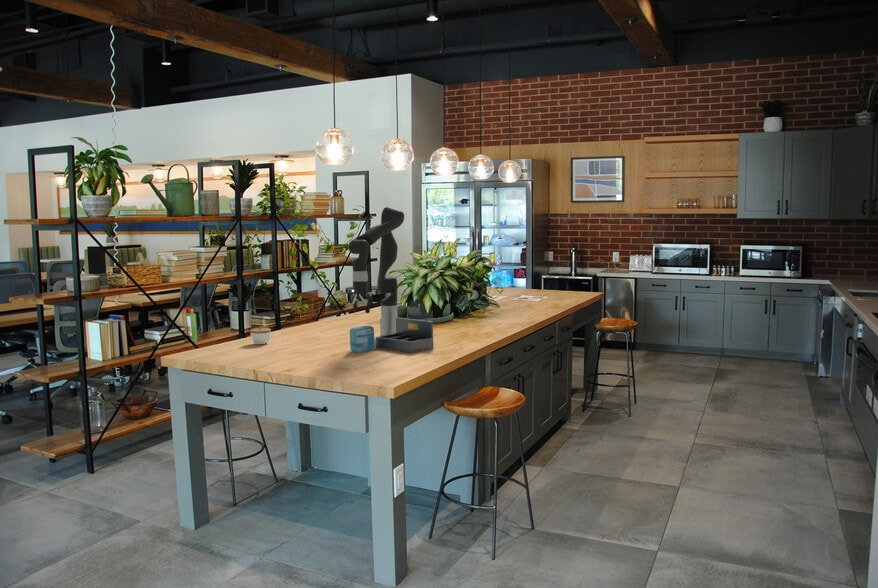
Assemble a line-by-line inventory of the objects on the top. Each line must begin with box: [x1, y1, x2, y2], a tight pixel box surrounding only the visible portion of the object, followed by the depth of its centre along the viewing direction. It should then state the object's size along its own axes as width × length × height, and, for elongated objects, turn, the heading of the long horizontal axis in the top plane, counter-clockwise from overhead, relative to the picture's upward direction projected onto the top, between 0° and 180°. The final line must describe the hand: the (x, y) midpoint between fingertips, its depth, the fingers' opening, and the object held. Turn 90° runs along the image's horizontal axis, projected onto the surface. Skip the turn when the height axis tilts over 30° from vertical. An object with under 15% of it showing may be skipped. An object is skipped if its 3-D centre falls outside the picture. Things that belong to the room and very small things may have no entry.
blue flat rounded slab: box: [349, 325, 376, 354], centre depth 351 cm, size 12×4×12 cm, turn 133°
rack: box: [375, 318, 434, 354], centre depth 355 cm, size 25×16×14 cm, turn 50°
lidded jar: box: [249, 326, 272, 345], centre depth 376 cm, size 11×11×9 cm
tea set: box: [397, 303, 454, 324], centre depth 450 cm, size 40×40×16 cm
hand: (361, 312), depth 349 cm, fingers open, 8 cm apart
